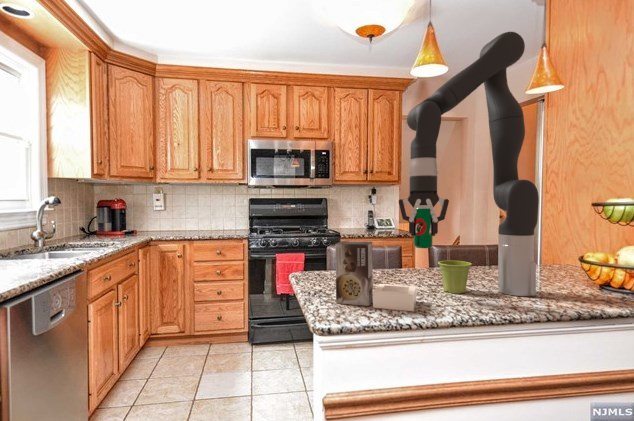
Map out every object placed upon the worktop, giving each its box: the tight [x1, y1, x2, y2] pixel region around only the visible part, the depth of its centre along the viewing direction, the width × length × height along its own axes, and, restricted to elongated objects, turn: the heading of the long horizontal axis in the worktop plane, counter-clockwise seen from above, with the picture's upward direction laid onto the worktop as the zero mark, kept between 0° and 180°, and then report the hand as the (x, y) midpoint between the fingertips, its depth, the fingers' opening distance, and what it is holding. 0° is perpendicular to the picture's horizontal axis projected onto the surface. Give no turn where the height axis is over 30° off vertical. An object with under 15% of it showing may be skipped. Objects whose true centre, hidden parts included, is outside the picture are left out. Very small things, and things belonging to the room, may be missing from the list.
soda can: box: [413, 205, 434, 249], centre depth 102 cm, size 5×5×12 cm
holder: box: [372, 283, 418, 312], centre depth 95 cm, size 10×10×4 cm
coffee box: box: [334, 240, 374, 307], centre depth 97 cm, size 9×6×16 cm
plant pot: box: [437, 260, 472, 295], centre depth 109 cm, size 9×9×9 cm
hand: (423, 235), depth 102 cm, fingers closed on soda can, 5 cm apart
